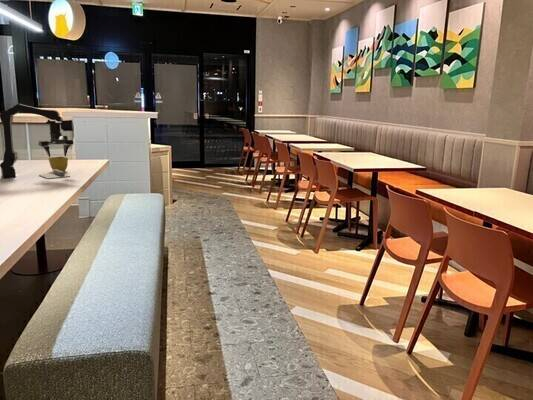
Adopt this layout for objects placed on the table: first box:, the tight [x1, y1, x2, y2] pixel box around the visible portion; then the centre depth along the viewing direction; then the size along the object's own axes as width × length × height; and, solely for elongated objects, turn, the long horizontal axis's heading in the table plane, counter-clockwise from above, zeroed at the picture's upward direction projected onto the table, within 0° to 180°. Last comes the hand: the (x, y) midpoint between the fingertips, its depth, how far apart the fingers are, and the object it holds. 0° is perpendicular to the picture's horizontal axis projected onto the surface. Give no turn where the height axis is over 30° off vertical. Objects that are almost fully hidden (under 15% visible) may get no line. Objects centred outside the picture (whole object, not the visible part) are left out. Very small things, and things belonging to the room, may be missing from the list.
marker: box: [52, 169, 65, 176], centre depth 271 cm, size 2×12×2 cm, turn 45°
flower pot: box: [48, 156, 69, 172], centre depth 285 cm, size 9×9×9 cm
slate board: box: [38, 172, 71, 180], centre depth 268 cm, size 13×15×1 cm
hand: (57, 156), depth 268 cm, fingers open, 9 cm apart
